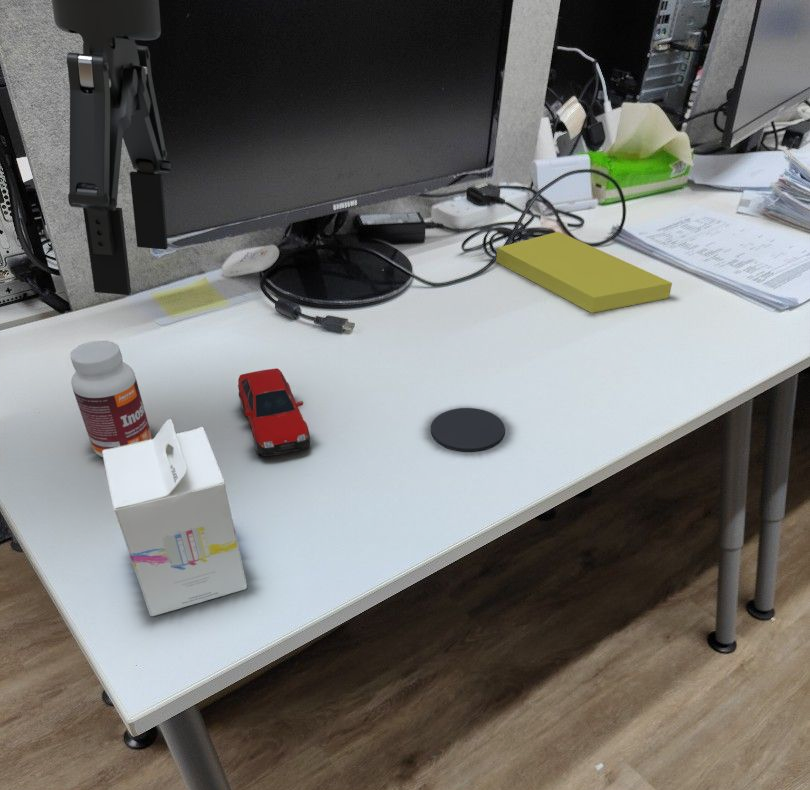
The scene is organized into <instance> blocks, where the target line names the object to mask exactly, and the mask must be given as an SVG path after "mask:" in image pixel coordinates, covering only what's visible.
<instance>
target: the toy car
mask: <svg viewBox="0 0 810 790" xmlns="http://www.w3.org/2000/svg"><path fill="white" fill-rule="evenodd" d="M237 383H238V384H237V389H238V397H239V400H240V405H241V410H242V414H243V415H244V416H245V417H247V419H248V422H249V425H250V428H251V431H252V437H253V442H254V446H255V451H256V455H261V456H262V457H263V456H264V457H269V456H270V457H271V456H277V455H278V456H279V455H283V454H287V453H293V452H298V451H301V450H304V449H307V448H310V446H311V436H310V435H311V434H310V431H309V426H308V424H307V422H306V421H305V420H304V417H303V415H302V413H301V410H300V408H299V407H301V406H304V401H303V400H300V401H297V400H296V399H295V396H294V394H293V392H292V389H291V386H290V384H289V382H288V381H287V380H286V377H285V375H284V373H283V372H282V371H281V370H280V369H279V368H277V367H275V368H269V369H262V370H257V371H251V372H246V373H243V374H240V375H239V376H238V379H237ZM296 401H297V402H296Z"/></svg>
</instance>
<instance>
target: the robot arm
mask: <svg viewBox="0 0 810 790" xmlns="http://www.w3.org/2000/svg"><path fill="white" fill-rule="evenodd" d="M51 5H52V12H53V13H52V14H53V20H54V24H55V26H56V27H57V28H58V29H59V30H61V31H62V32H66V33H69V34H78V35H79V36H80V37H81V39H82V53H78V52H71V51H69V52H67V54H66V65H67V73H68V75H67V76H68V83H69V84H68V85H69V191H68V194H67V200H68V204H69V207H71V208H78V209H79V208H80V209H82V212H83V218H84V226H85V232H86V239H87V247H88V255H89V261H90V262H89V263H90V269H91V277H92V283H93V284H92V285H93V290H94V291H93V292H94V293H99V294H111V295H123V296H130V295H131V293H132V290H131V289H132V286H131V278H130V269H129V259H128V251H127V241H126V233H125V224H124V214H123V208H122V207H117V206H118V194H119V193H118V192H119V184H120V183H119V182H120V172H121V171H120V170H121V160H122V151H123V150H122V149H123V148H122V147H123V142H124V145H125V148H126V151H127V154H128V157H129V160H130V162H131V165H132V168H133V170H136V171H132V170H131V171H130V172H129V180H130V190H131V201H132V209H133V221H134V229H135V230H134V231H135V239H136V240H135V241H136V247H137V248H145V249H155V250H164V251H166V250H167V249H168V248H169V246H168V245H169V244H168V232H167V222H166V221H167V220H166V219H167V218H166V208H165V195H164V182H163V174H162V173H165V174H166V173H167V174H170V173H171V169H172V164H171V163H172V162H171V159H167V156H168V152H167V149H166V145H165V140H164V139H165V138H164V133H163V128H162V124H161V123H162V122H161V118H160V113H159V108H158V107H159V106H158V103H157V98H156V93H155V92H156V91H155V88H154V81H153V76H152V66H151V52H150V50H149V46H145V45H138V44H137V42H136V41H154V40H157V39H158V38H160V37H161V33H162V27H161V13H160V1H159V0H51Z"/></svg>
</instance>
